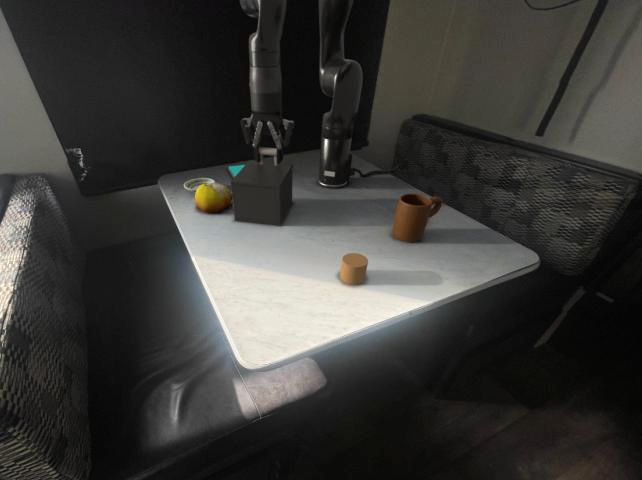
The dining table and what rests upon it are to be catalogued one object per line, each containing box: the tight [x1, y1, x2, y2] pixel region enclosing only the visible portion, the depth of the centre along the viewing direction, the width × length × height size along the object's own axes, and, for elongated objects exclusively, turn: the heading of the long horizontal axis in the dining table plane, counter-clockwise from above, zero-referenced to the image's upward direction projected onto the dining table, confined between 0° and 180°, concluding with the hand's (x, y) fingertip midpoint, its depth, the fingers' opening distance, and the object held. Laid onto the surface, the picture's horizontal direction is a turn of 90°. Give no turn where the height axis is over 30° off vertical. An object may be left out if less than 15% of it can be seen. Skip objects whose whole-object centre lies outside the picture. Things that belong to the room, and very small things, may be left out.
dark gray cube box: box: [230, 168, 293, 227], centre depth 90 cm, size 15×13×10 cm
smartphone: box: [227, 164, 246, 179], centre depth 115 cm, size 7×1×15 cm
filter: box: [339, 252, 369, 286], centre depth 68 cm, size 5×5×4 cm
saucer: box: [183, 177, 216, 194], centre depth 104 cm, size 10×10×2 cm
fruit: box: [194, 182, 233, 215], centre depth 94 cm, size 11×10×8 cm
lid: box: [230, 146, 294, 189], centre depth 86 cm, size 15×13×5 cm
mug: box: [391, 193, 443, 243], centre depth 81 cm, size 12×8×9 cm, turn 112°
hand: (268, 161), depth 90 cm, fingers closed on lid, 5 cm apart
